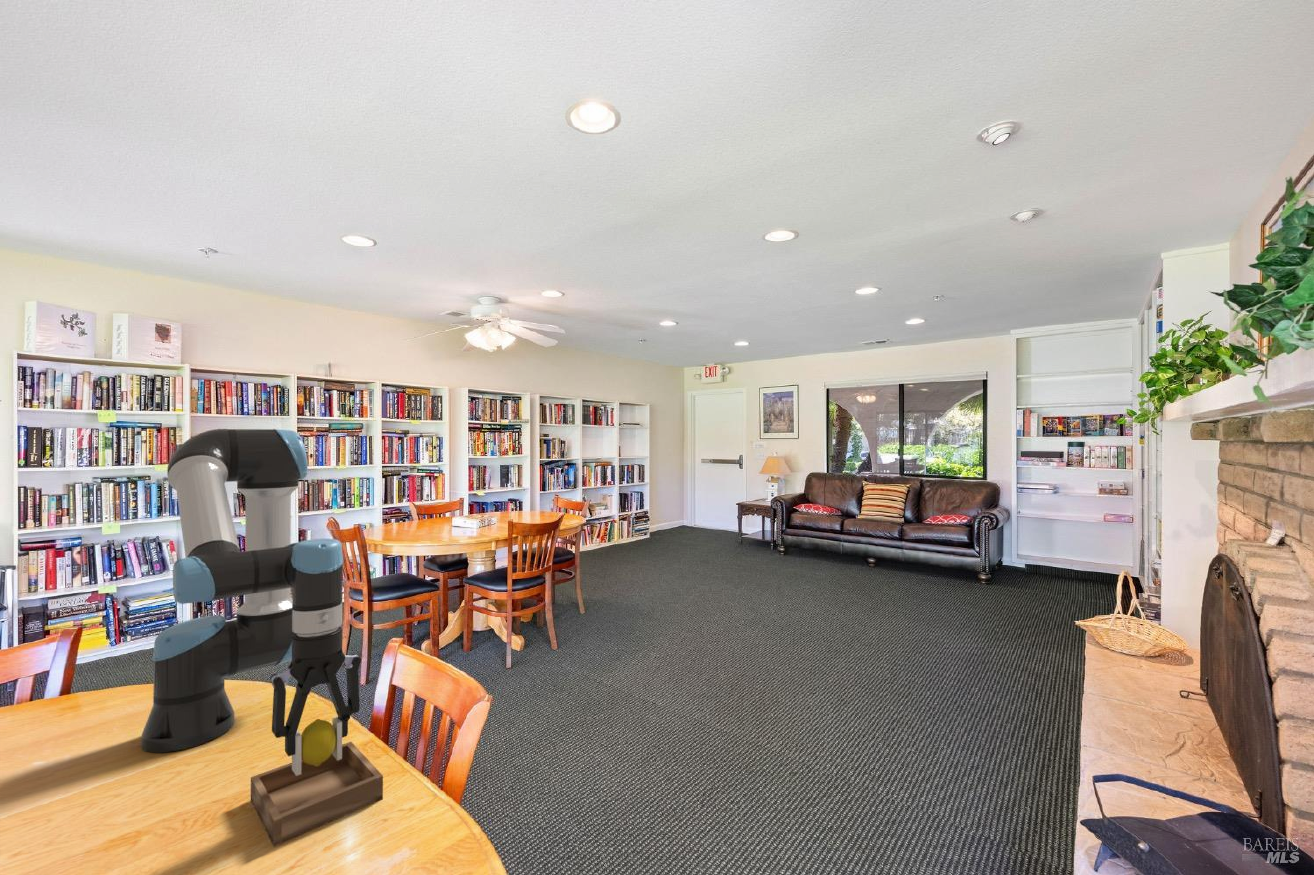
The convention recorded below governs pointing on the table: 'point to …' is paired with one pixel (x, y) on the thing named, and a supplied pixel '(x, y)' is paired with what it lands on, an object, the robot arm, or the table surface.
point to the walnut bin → (314, 793)
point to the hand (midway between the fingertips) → (317, 763)
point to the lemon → (317, 742)
